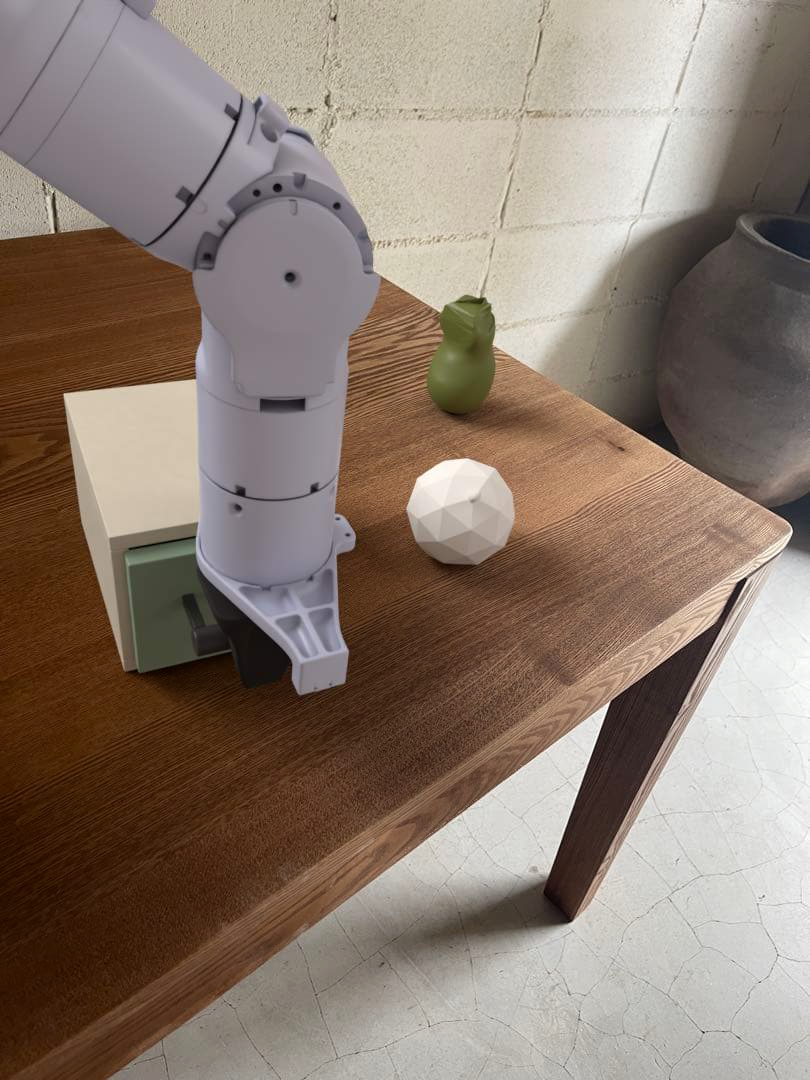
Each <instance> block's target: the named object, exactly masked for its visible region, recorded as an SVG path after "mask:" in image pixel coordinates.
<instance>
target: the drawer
mask: <svg viewBox="0 0 810 1080" xmlns="http://www.w3.org/2000/svg"><path fill="white" fill-rule="evenodd" d="M124 562H125V571H126V581H127V591H128V600H129V610H130V619H131V629H132V638H133V648H134V657H135V661H136V665H137V668H138V669H137V672H138V673H139V674H142V673H146V672H151V671H155V670H159V669H163V668H168V667H172V666H176V665H180V664H185V663H189V662H193V661H197V660H201V659H206V658H209V657H213V656H218V655H221V654H222V655H223V654H226V653H232V651H231V647H230V643H229V639H228V636H227V635H226V634H224V633H223V631H222V630H221V628H220V627H219V625H218V623H217V622H216V620H215V618H214V616H213V614H212V611H211V609H210V606H209V604H208V601H207V599H206V596H205V594H204V591H203V589H202V586H201V584H200V581H199V579H198V576H197V566H198V563H197V558H196V536H192V537H187V538H181V539H176V540H170V541H165V542H159V543H154V544H148V545H143V546H137V547H132V548H129V550H127V551H124Z"/></svg>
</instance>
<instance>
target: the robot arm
mask: <svg viewBox="0 0 810 1080" xmlns="http://www.w3.org/2000/svg"><path fill="white" fill-rule="evenodd" d="M157 4H158V0H0V152H2V153H3V154H5V156H6V157H7V156H8V157H9V158H10V159H11V160H13V161H14V162H16V163H18V164H19V165H20V166H22V167H23V168H25V169H26V170H28V171H29V172H31V173H32V174H33V175H35V176H36V177H38V178H39V179H41V180H42V181H43V182H45V183H47V184H48V185H49V186H51V187H52V188H54V189H55V190H57V191H58V192H60V193H61V194H63V195H64V196H66V197H67V198H68V199H70V200H71V201H73V202H74V203H76V204H77V205H79V206H80V207H81V208H82V209H84V210H86V211H87V212H89V213H90V214H92V215H93V216H95V217H96V218H97V219H99V220H100V221H102V222H103V223H105V224H106V225H108V226H109V227H111V228H112V229H113V230H115V231H116V232H118V233H119V234H121V235H122V236H124V237H125V238H127V239H128V240H129V241H131V242H132V243H133V244H135V245H137V246H139V247H140V248H141V249H143V250H144V251H146V252H147V253H148V254H150V255H151V256H153V257H155V258H157V259H159V260H161V261H165V262H168V263H170V264H173V265H175V266H178V267H181V268H183V269H185V270H186V271H188V272H190V273H192V275H191V276H192V278H191V279H192V283H193V284H192V285H193V289H194V294H195V297H196V300H197V302H198V305H199V308H200V309H201V311H200V312H201V340H200V343H199V345H198V347H197V351H196V354H195V363H194V364H195V379H196V390H197V429H198V470H199V505H200V517H199V523H198V530H197V536H196V558H197V563H198V566H197V576H198V579H199V581H200V584H201V586H202V589H203V591H204V594H205V596H206V599H207V601H208V604H209V606H210V609H211V611H212V614H213V616H214V618H215V620H216V622H217V623H218V625H219V627H220V628H221V630H222V631H223V633H224V634H226V635H227V636H228V639H229V643H230V647H231V655H232V659H233V662H234V666H235V668H236V672H237V675H238V677H239V679H240V681H241V684H242V686H243V688H244V689H246V690H251V689H254V688H258V687H259V688H260V687H262V686H266V685H270V684H274V683H277V682H281V681H283V679H284V677H285V675H286V674H287V671H288V669H289V667H290V665H291V664H292V669H291V682H292V684H293V686H294V688H295V690H296V693H297V695H298V696H303V695H307V694H310V693H316V692H319V691H323V690H327V689H331V688H332V687H336V686H340V685H344V684H346V678H347V670H348V664H349V663H348V662H349V655H350V651H349V649H348V646H347V644H346V641H345V640H344V637H343V634H342V631H341V630H342V629H341V625H340V617H339V616H340V615H339V613H340V612H339V611H340V610H339V591H338V590H339V589H338V585H339V584H338V563H337V562H338V561H337V557H338V556H339V555H340V554H342V553H347V552H351V551H352V550H354V548H355V547H356V539H357V538H356V537H357V536H356V533H355V530H354V529H353V528H352V526H351V525H350V522H349V521H348V519H347V518H346V517H345V516H344V515H342V514H339V513H336V504H337V494H338V485H339V475H340V465H341V457H342V455H341V454H342V448H343V447H342V446H343V445H342V444H343V435H344V426H345V425H344V424H345V416H346V405H347V395H348V394H347V393H348V386H349V385H348V384H349V376H350V375H349V373H350V367H349V361H348V354H349V343H350V337H351V336H352V335H353V334H354V333H355V332H356V331H357V329H359V328H360V326H361V325H362V324H363V323H364V322H365V320H366V319H367V317H368V316H369V314H370V312H371V310H372V308H373V307H374V305H375V302H376V299H377V297H378V294H379V291H380V286H381V281H382V278H381V275H380V274H378V273H376V272H375V270H374V251H373V245H372V240H371V238H370V236H369V233H368V228H367V226H366V225H365V222H364V220H363V218H362V216H361V214H360V212H359V211H358V209H357V207H356V204H355V203H354V201H353V199H352V197H351V196H350V194H349V192H348V190H347V188H346V186H345V184H344V183H343V180H342V179H341V177H340V175H339V173H338V172H337V170H336V168H335V167H334V165H333V164H332V163H331V161H330V160H329V159H328V158H327V156H326V155H325V154H324V153H323V152H321V150H319V149H318V148H317V146H316V145H315V142H314V140H313V138H312V136H311V134H310V133H309V132H308V131H307V130H306V129H305V128H302V127H300V126H298V125H296V124H292V123H290V119H289V118H288V115H287V113H286V111H285V110H284V109H283V108H282V107H281V106H280V105H279V104H278V103H277V102H275V101H274V100H273V99H272V98H271V97H270V96H269V95H267V93H265V92H261V93H259V95H258V96H256V98H255V99H254V101H253V102H252V101H251V100H250V99H249V98H248V97H246V95H244V94H243V93H242V92H240V91H239V90H238V89H237V88H236V87H235V86H234V85H232V84H231V83H230V81H228V80H227V79H225V77H223V76H222V75H221V74H220V73H219V72H217V70H215V69H214V68H213V67H212V66H211V65H209V64H208V63H207V62H206V61H205V60H204V59H203V58H202V57H200V56H199V55H198V54H197V53H196V52H194V50H192V49H191V48H190V47H189V46H188V45H187V44H185V42H183V41H182V40H181V39H180V38H179V37H178V36H176V35H175V34H174V33H173V32H172V31H171V30H170V29H168V28H167V27H166V26H165V25H164V24H163V23H162V22H160V21H159V20H158V19H157V18H156V17H155V16H154V15H152V13H153V11H154V9H155V8H156V6H157Z"/></svg>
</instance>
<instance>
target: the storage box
mask: <svg viewBox="0 0 810 1080" xmlns="http://www.w3.org/2000/svg"><path fill="white" fill-rule="evenodd" d="M63 402H64V407H65V415H66V422H67V429H68V436H69V443H70V449H71V450H70V451H71V458H72V465H73V470H74V471H73V472H74V478H75V485H76V492H77V499H78V507H79V514H80V519H81V520H80V521H81V525H82V528H83V531H84V536H85V538H86V542H87V546H88V549H89V554H90V556H91V560H92V563H93V566H94V571H95V574H96V578H97V581H98V585H99V588H100V592H101V595H102V598H103V602H104V605H105V609H106V612H107V616H108V619H109V623H110V626H111V630H112V634H113V637H114V640H115V644H116V647H117V650H118V655H119V658H120V661H121V664H122V668H123V671H124V672H130V671H134V670H138V668H137V665H136V661H135V657H134V648H133V638H132V629H131V619H130V610H129V600H128V591H127V581H126V571H125V562H124V551H127V550H129V548H132V547H137V546H143V545H148V544H154V543H159V542H165V541H170V540H176V539H181V538H187V537H192V536H197V530H198V523H199V517H200V505H199V470H198V429H197V390H196V378H192V379H186V380H175V381H167V382H166V381H165V382H157V383H148V384H140V385H131V386H119V387H111V388H102V389H101V388H100V389H94V390H92V389H91V390H83V391H74V392H66V393H65V392H64V393H63Z"/></svg>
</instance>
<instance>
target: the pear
mask: <svg viewBox="0 0 810 1080" xmlns="http://www.w3.org/2000/svg"><path fill="white" fill-rule="evenodd" d="M492 310H493V307H492V303H490V302H488V300H487V296H484V297H483V296H482V297H477V296H474V295H470V294H463V295H462V296H460V297H459V298H457V299H456V300H454V301H451V302H449V303H446V304H444V306H443V309H442V310H441V312H440V313H439V317H438V321H439V325H440V328H441V331H442V333H443V336H442V341H441V342H440V343H439V345H438V347H437V348H436V350H435V352H434V354H433V356H432V359H431V361H430V364H429V367H428V370H427V375H426V389H427V392H428V395H429V397H430V399H431V400H432V401H433V403H434V404H435V405H436V406H437V407H439V408H440V409H441V410H444V411H445V412H448V413H452V414H466V413H469V412H472V411H474V410H476V409H477V408H478V407H480V406H481V405H482V404H483V403H484V401H485V400H486V399H487V398H488V395H489V393H490V392H491V389H492V386H493V384H494V381H495V376H496V368H497V367H496V355H495V351H494V340H495V336H496V330H497V329H496V318H495V317H496V316H495V315H494V313H493V312H492Z"/></svg>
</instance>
